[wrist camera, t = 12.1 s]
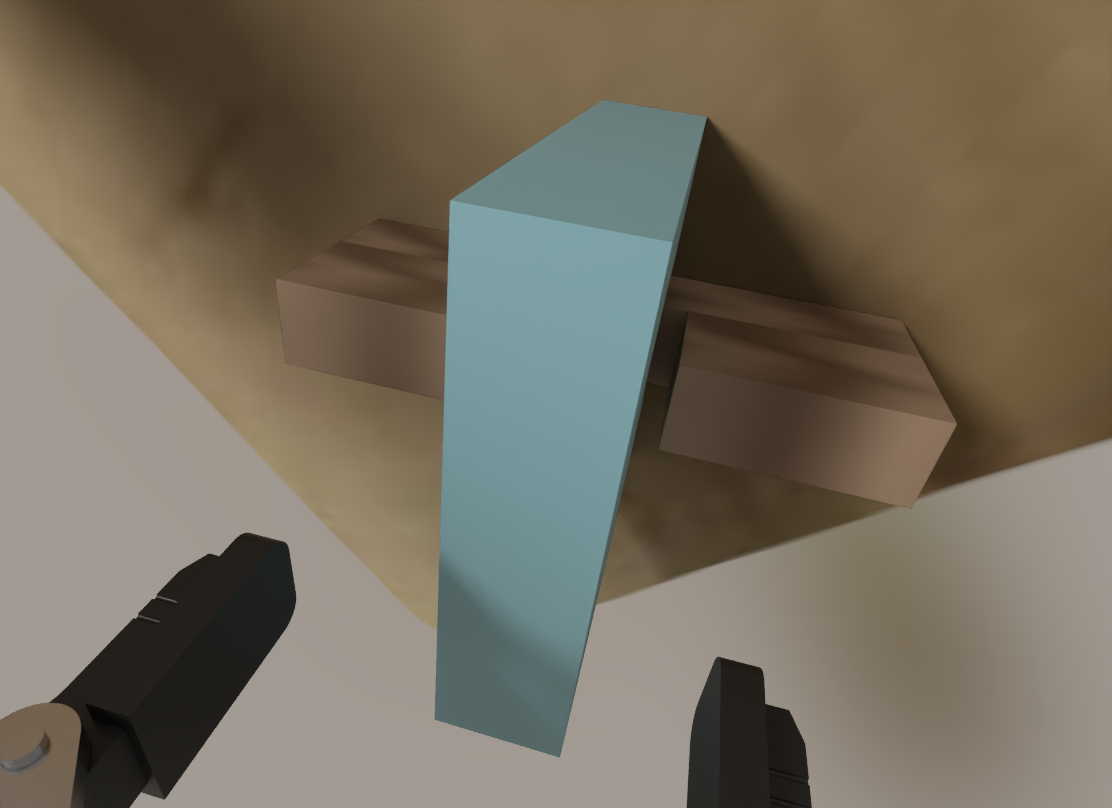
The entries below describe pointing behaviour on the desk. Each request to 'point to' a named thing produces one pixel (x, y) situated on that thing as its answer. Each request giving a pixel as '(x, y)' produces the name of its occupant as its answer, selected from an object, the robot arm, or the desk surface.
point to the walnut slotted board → (659, 364)
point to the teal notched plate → (547, 402)
